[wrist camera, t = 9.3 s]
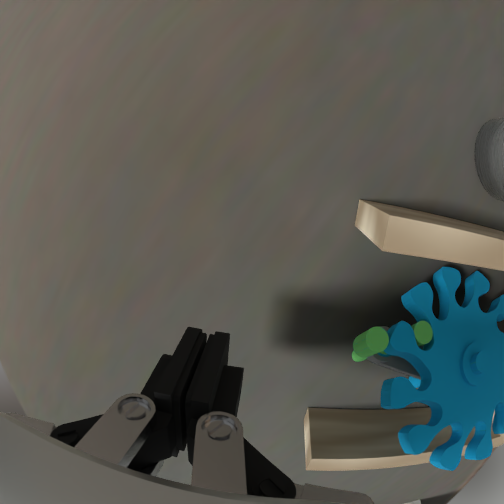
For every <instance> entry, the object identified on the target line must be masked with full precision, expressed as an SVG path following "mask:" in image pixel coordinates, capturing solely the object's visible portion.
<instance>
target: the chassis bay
mask: <svg viewBox="0 0 504 504" xmlns="http://www.w3.org/2000/svg"><path fill="white" fill-rule="evenodd" d="M355 226H356V227H357V228H358V229H359V230H360V231H361V232H363V233H364V234H365V235H366V236H367V237H368V238H369V239H370V240H371V241H372V242H373V243H374V244H375V245H376V246H378V247H379V248H380V249H381V250H382V251H386V252H392V253H399V254H405V255H412V256H418V257H424V258H430V259H437V260H443V261H449V262H455V263H461V264H467V265H473V266H479V267H484V268H490V269H496V270H502V271H504V232H503V231H499V230H496V229H492V228H488V227H484V226H480V225H477V224H473V223H469V222H465V221H461V220H457V219H452V218H448V217H444V216H439V215H435V214H431V213H426V212H422V211H417V210H412V209H407V208H403V207H398V206H393V205H388V204H382V203H377V202H372V201H366V200H361V199H359V205H358V211H357V216H356V222H355ZM494 414H495V410H494ZM494 414H493V419H494ZM430 418H431V408H430V407H427V408H411V409H380V410H358V409H326V408H310V407H308V409H307V412H306V415H305V418H304V433H305V456H306V470H321V471H337V470H366V469H380V468H391V467H400V466H408V465H415V464H422V463H428V462H430V461H429V459H430V456H431V454H432V452H433V451H434V449H436V448H437V447H438V446H440V445H442V444H444V443H446V442H447V441H448V440H449V439H450V437H451V434H452V427H451V425H449V426H447V427H445V428H443V429H442V430H441V431H440V432H439V433H438V434H437V435H436V436H435V437H434V438H433V440H432V441H431V442H430V444H429V446H428V448H427V449H426V450H425V451H424V452H422V453H421V454H418V455H412V454H406V453H404V451H403V449H402V447H401V445H400V442H399V438H398V432H399V431H400V429H402V428H403V427H404V426H406V425H410V424H417V425H426V424H427V423H428V422H429V421H430ZM493 419H492V424H493ZM474 434H475V426H474V428H473V429H472V431H471V432H470V434H469V435H468V437H467V439H466V442H465V444H464V447H463V450H462V455H461V456H463V455H465V450H466V447H467V445H468V443H469V442H470V441H471V439H472V438H473V436H474ZM491 439H492V443H493V448H494V447H497V446H500V445H502V444H503V443H504V434H494V432H493V430H492V425H491Z"/></svg>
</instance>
